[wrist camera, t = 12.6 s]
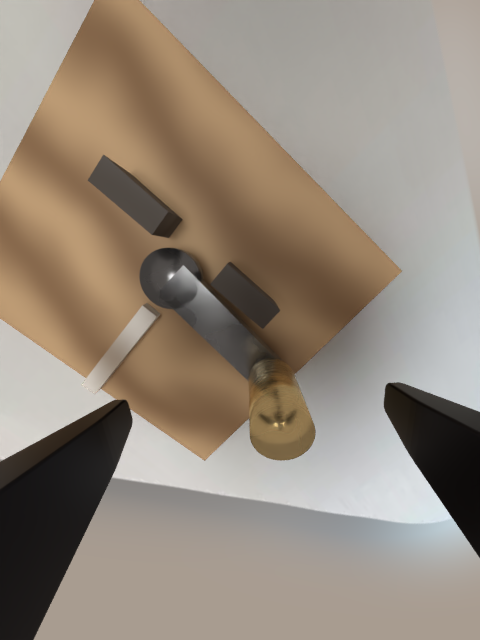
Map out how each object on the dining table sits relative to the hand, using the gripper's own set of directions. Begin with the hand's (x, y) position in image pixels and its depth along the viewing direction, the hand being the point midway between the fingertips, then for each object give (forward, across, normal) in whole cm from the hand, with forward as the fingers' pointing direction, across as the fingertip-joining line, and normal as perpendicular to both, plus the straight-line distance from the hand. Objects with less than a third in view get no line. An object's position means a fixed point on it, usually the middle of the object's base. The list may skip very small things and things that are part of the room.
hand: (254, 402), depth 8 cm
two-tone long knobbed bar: (+8, +2, 0) cm, 8 cm away
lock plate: (+11, +4, -4) cm, 12 cm away
